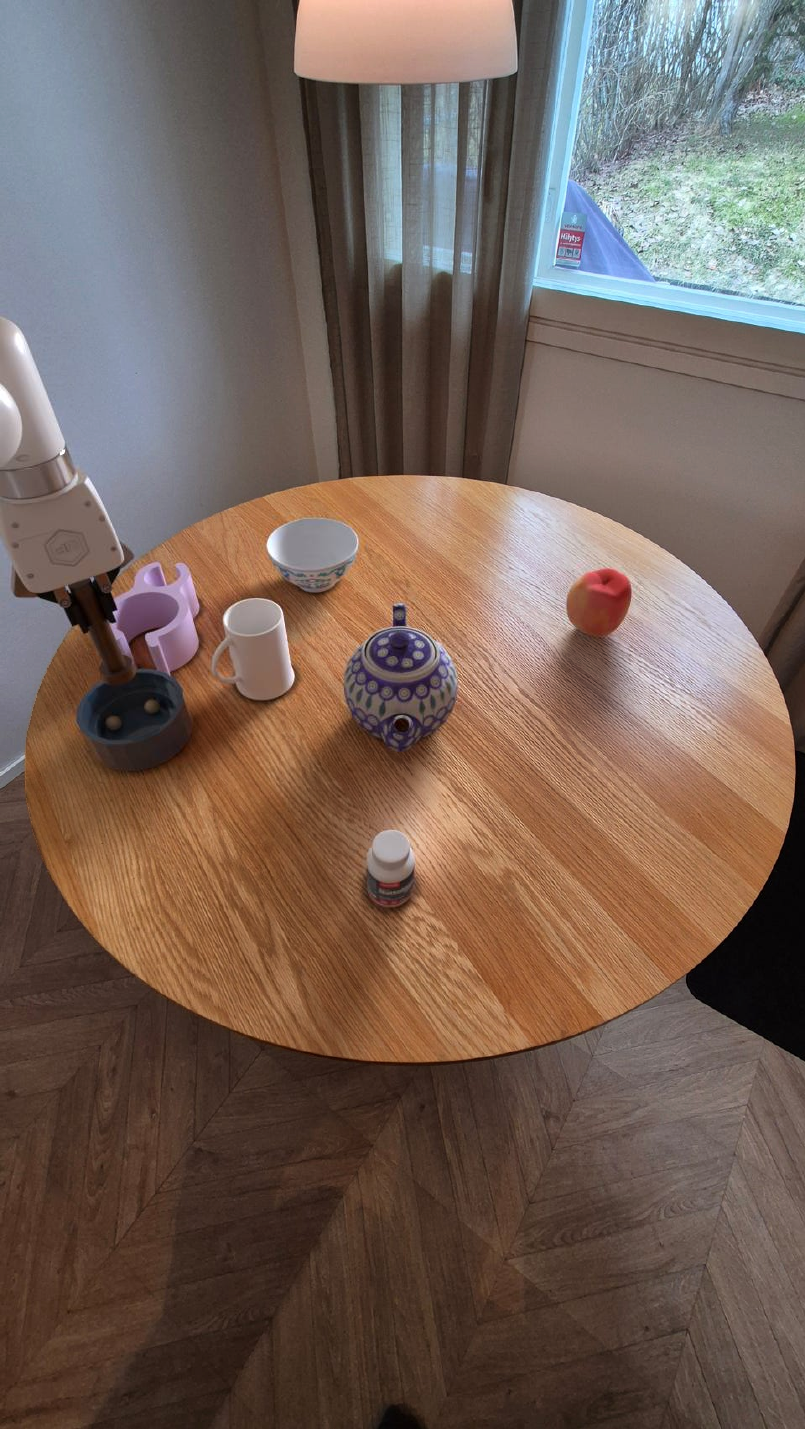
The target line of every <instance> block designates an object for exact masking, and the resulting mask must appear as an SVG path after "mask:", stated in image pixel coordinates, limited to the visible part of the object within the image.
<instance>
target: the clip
mask: <svg viewBox="0 0 805 1429" xmlns="http://www.w3.org/2000/svg"><path fill="white" fill-rule="evenodd" d="M174 567H175V572H176V574H177V578H178V579H177V580H175V581H174V582H172V583H170V584H167V582H166V579H165V576H164V572H163V569H162V565H161V563H160V561H153V562H152V563H149V564H146V565H145V566H143V567H141V568H140V569H139V570H138V571H137V572H136V574H135V577H134V585H133V586H132V588H130V589H129V590H127V591H126V592H123V593H122V594H120V595H118V596H116V597H115V598H113V599H114V601H115V604H116V606H117V609H118V610H117V611H114V612H113V614H114V617H115V619H116V623H113V624H112V623H109V624H110V626H111V629H112V631H113V634H114V636H115V638H116V641H117V643H118V646H119V648H120V650H121V653H122V655H126V656H128V657H130V658H131V659H132V661H133V664H134V666H135V668H136V669H138V666H137V663H136V661H135V658H134V656H133V653H132V651H131V648H130V646H129V643H130V642H132V640H133V639H134V638H135V637H137V636H138V635H140V634H142V633H144V632H147V631H150V630H153V629H157V630H154V631H151V632H147V633H145V636H144V638H145V642H146V645H147V649H148V651H149V653H150V656H151V658H152V659H151V660H152V661H153V664H154V667H155V670H157V671H161V672H164V673H167V674H169V675H170V676H172V675H171V672H173V671H176V670H178V669H180V668H181V667H183V666H185V665H186V664H187V663H188V662H189V661H191V660H192V659H193V657H194V656H195V655H196V654H197V651H198V648H199V646H200V644H199V643H200V641H199V637H198V634H197V630H196V626H195V622H194V619H195V618H196V617H197V615H198V614H199V612H200V604H199V600H198V597H197V592H196V589H195V586H194V582H193V579H192V578H193V577H192V574H191V571H190V568H189V566H187V564H185V563H183V562H177V563H176V564H174ZM108 622H109V621H108ZM158 628H159V629H158Z"/></svg>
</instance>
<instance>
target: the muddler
mask: <svg viewBox="0 0 805 1429" xmlns="http://www.w3.org/2000/svg"><path fill="white" fill-rule="evenodd" d="M92 582H93V580H92V579H91V578H88V579H85V580H82V581H79V582H76V583H73V584H70V585H67V588H68V591H69V593H70V592H71V594H72V596H73V598H74V600H75V601H76V602H77V604H78V606H79V608H80V610H81V613H82V615H83V617H84V619H85V621H86V624H87V626H88V628H89V630H90V631H88V635H89V636H90V638H91V641H92V642H93V644H94V647H95V649H96V652H97V654H98V656H99V658H100V660H101V662H100V663H99V666H98V673H99V675H100V677H101V679H102V680H103V681H104V682H105V683H106V684H108V685H112V686H118V685H123V684H125V683H127V682H129V681H130V680H132V679H133V678H134V676H135V674H136V668H135V666H134V664H133V661H132V659H131V658H130V657H128V656H126V655H122V653H121V650H120V648H119V646H118V643H117V641H116V638H115V636H114V634H113V631H112V629H111V626H110V624H109V622H108V619H107V617H106V615H105V613H104V610H103V608H102V605H101V603H100V601H99V598H98V596H97V593H96V591H95V588H94V586H93V583H92Z"/></svg>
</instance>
